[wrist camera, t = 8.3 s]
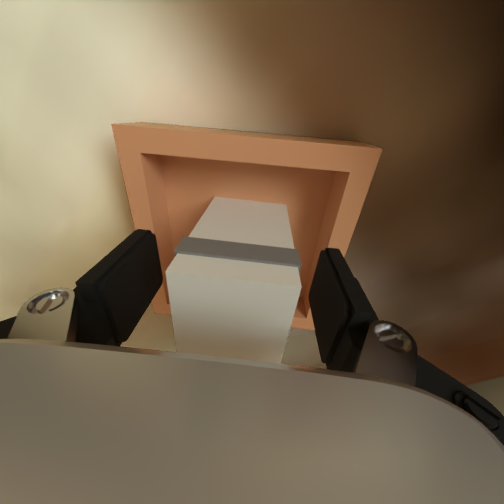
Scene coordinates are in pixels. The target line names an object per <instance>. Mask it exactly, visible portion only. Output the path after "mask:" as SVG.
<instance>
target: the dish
mask: <svg viewBox="0 0 504 504" xmlns="http://www.w3.org/2000/svg"><path fill="white" fill-rule="evenodd" d="M112 129H113V133H114V138H115V142H116V147H117V151H118V156H119V160H120V165H121V169H122V173H123V178H124V182H125V187H126V191H127V196H128V200H129V205H130V209H131V214H132V218H133V222H134V227H135V230H137V229H143V230H150V231H151V232H152V233H154V234H155V235H156V240H157V246H158V252H159V258H160V263H161V269H162V275H163V283H162V285H161V287H160V289H159V290H158V292H157V293H156V295H155V296H154V298H153V300H152V301H151V303H152V307H153V311H154V313H156V314H165V315H171V308H170V301H169V294H168V287H167V280H166V273H165V271H166V270H167V268H168V267H169V265H170V264H171V262H172V261H173V259H174V258H175V255H174V250H175V248H176V247H177V245H178V244H179V243H180V241H181V240H182V238H183V237H184V236H186V237H188V236H189V235H190V233H191V232H192V230H193V229H194V227H195V226H196V224H197V223H198V221H199V220H200V218H201V217H202V215H203V214H204V212H205V211H206V209H207V208H208V206H209V205H210V203H211V202H212V200H213V199H214V197H224V198H233V199H242V200H251V201H260V202H268V203H277V204H286V206H287V212H288V217H289V222H290V228H291V233H292V238H293V244H294V249H298V251H299V255H300V260H301V269H300V273H299V276H300V281H301V286H302V288H301V291H300V295H299V299H298V302H297V306H296V309H295V313H294V317H293V320H292V324H291V327H290V328H300V329H309V330H315V328H314V323H313V319H312V314H311V309H310V304H309V299H308V295H309V291H310V287H311V283H312V280H313V276H314V273H315V269H316V266H317V262H318V258H319V255H320V252H321V250H325V248H337V249H339V250H340V251H341V253H342V255H343V257H345V254H346V251H347V249H348V246H349V243H350V240H351V237H352V235H353V232H354V229H355V226H356V223H357V220H358V218H359V215H360V212H361V209H362V206H363V203H364V201H365V198H366V195H367V192H368V189H369V186H370V184H371V181H372V178H373V175H374V172H375V169H376V167H377V164H378V161H379V158H380V155H381V153H382V150H383V149H382V148H379V147H376V146H372V145H369V144H366V143H362V142H356V141H345V140H334V139H323V138H312V137H301V136H290V135H279V134H268V133H257V132H246V131H235V130H224V129H213V128H202V127H191V126H180V125H169V124H157V123H146V122H136V123H120V124H112Z"/></svg>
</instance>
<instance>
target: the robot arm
mask: <svg viewBox="0 0 504 504" xmlns="http://www.w3.org/2000/svg"><path fill="white" fill-rule="evenodd" d="M75 283H76V285H77V287H76V288H75V289H74V290H72V289H69V288H62V287H60V288H52V289H49V290H45V291H43V292H40V293H38V294H36V295H34V296H33V297H31V298H29V299H28V300H27V301H26V302H25V303H24V304H23V305H22V307H21V308H20V311H19V313H18V315H17V316H15V317H12V318H9V319H6V320H4V321H1V322H0V504H504V416H503V415H502V414H501V413H500V412H499V411H498V410H497V409H496V408H495V407H494V406H493V405H492V404H491V403H489V402H488V401H487V400H486V399H484V398H483V397H481V396H480V395H479V394H477V393H476V392H474V391H473V390H471V389H469V388H468V387H466V386H465V385H463V384H462V383H460V382H459V381H457V380H456V379H454V378H453V377H451V376H449V375H448V374H446V373H445V372H443V371H442V370H440V369H439V368H437V367H436V366H434V365H433V364H431V363H429V362H428V361H426V360H425V359H423V358H422V357H420V356H419V355H417V345H416V342H415V340H414V339H413V337H412V336H411V335H410V334H409V333H408V332H407V331H406V330H404V329H403V328H402V327H400V326H398V325H396V324H394V323H392V322H389V321H384V320H379V319H378V318H377V316H376V314H375V312H374V310H373V308H372V306H371V304H370V303H369V301H368V299H367V297H366V295H365V293H364V291H363V289H362V288H361V286H360V284H359V282H358V280H357V279H356V278H354V276H353V274H352V272H351V271H350V269H349V267H348V265H347V263H346V261H345V259H344V257H343V255H342V253H341V251H340V250H339V249H337V248H325V250H321V252H320V255H319V258H318V262H317V266H316V269H315V273H314V276H313V280H312V283H311V287H310V291H309V295H308V299H309V304H310V309H311V314H312V319H313V323H314V328H315V333H316V337H317V342H318V347H319V352H320V356H321V361H322V362H323V363H326V366H327V369H322V368H314V367H305V366H296V365H287V364H278V363H270V362H261V361H252V360H243V359H234V358H224V357H215V356H206V355H196V354H187V353H177V352H168V351H159V350H149V349H139V348H129V347H120V345H121V343H122V342H125V341H126V340H127V339H128V338H129V336H130V335H131V333H132V331H133V330H134V328H135V327H136V325H137V323H138V322H139V320H140V319H141V317H142V316H143V314H144V312H145V311H146V309H147V308H148V306H149V304H150V303H151V301H152V300H153V298H154V296H155V295H156V293H157V292H158V290H159V289H160V287H161V285H162V283H163V275H162V269H161V263H160V258H159V252H158V246H157V240H156V235H155V234H154V233H152V232H151V231H150V230H143V229H137V230H135V231H134V232H133V233H132V234H131V235H129V236H128V237H127V238H126V239H125V240H124V241H123V242H121V243H120V244H119V245H118V246H117V247H116V248H114V249H113V250H112V251H111V252H110V253H109V254H108V255H106V256H105V257H104V258H103V259H102V260H101V261H99V262H98V263H97V264H96V265H95V266H94V267H93V268H91V269H90V270H89V271H88V272H87V273H86V274H84V275H83V276H82V277H81V278H80V279H79V280H78V281H76V282H75Z"/></svg>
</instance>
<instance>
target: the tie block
mask: <svg viewBox="0 0 504 504" xmlns="http://www.w3.org/2000/svg"><path fill="white" fill-rule="evenodd" d="M174 255H175V258H174V259H173V261H172V262H171V264H170V265H169V267H168V268H167V270H166V271H165V273H166V280H167V287H168V294H169V301H170V308H171V315H172V323H173V330H174V337H175V344H176V351H177V353H187V354H196V355H206V356H215V357H224V358H234V359H243V360H252V361H261V362H270V363H278V364H280V363H281V360H282V356H283V353H284V349H285V345H286V342H287V338H288V335H289V331H290V327H291V324H292V320H293V317H294V313H295V309H296V306H297V302H298V299H299V295H300V291H301V288H302V286H301V281H300V276H299V273H300V269H301V260H300V255H299V251H298V249H294V244H293V238H292V233H291V228H290V222H289V217H288V212H287V206H286V204H277V203H268V202H260V201H251V200H242V199H233V198H224V197H214V199H213V200H212V202H211V203H210V205H209V206H208V208H207V209H206V211H205V212H204V214H203V215H202V217H201V218H200V220H199V221H198V223H197V224H196V226H195V227H194V229H193V230H192V232H191V233H190V235H189V236H188V237H186V236H184V237H183V238H182V240H181V241H180V243H179V244H178V245H177V247H176V248H175V250H174Z"/></svg>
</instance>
